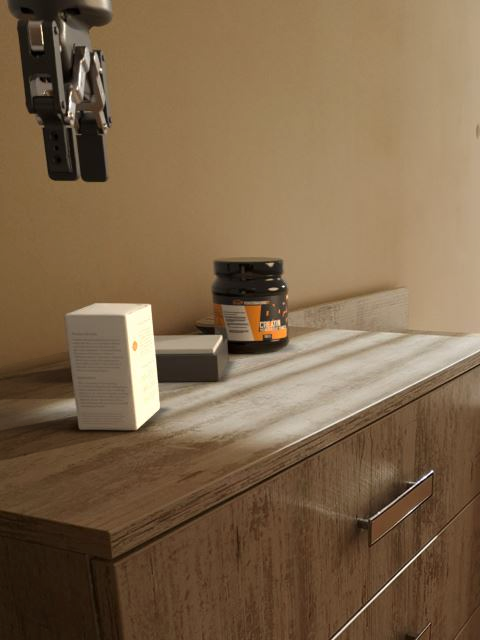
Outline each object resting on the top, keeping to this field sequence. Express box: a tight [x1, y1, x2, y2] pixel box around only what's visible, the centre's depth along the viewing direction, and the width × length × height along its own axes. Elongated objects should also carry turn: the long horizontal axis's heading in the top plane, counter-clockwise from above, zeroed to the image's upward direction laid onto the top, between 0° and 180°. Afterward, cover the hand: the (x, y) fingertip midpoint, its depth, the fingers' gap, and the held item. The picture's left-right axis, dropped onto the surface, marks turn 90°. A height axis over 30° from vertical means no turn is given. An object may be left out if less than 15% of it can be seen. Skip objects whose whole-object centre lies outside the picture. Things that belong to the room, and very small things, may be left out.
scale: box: [154, 334, 229, 383], centre depth 99 cm, size 15×12×4 cm
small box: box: [63, 302, 161, 431], centre depth 77 cm, size 8×6×10 cm
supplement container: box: [210, 256, 291, 354], centre depth 113 cm, size 10×10×12 cm
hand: (80, 181), depth 67 cm, fingers open, 8 cm apart
